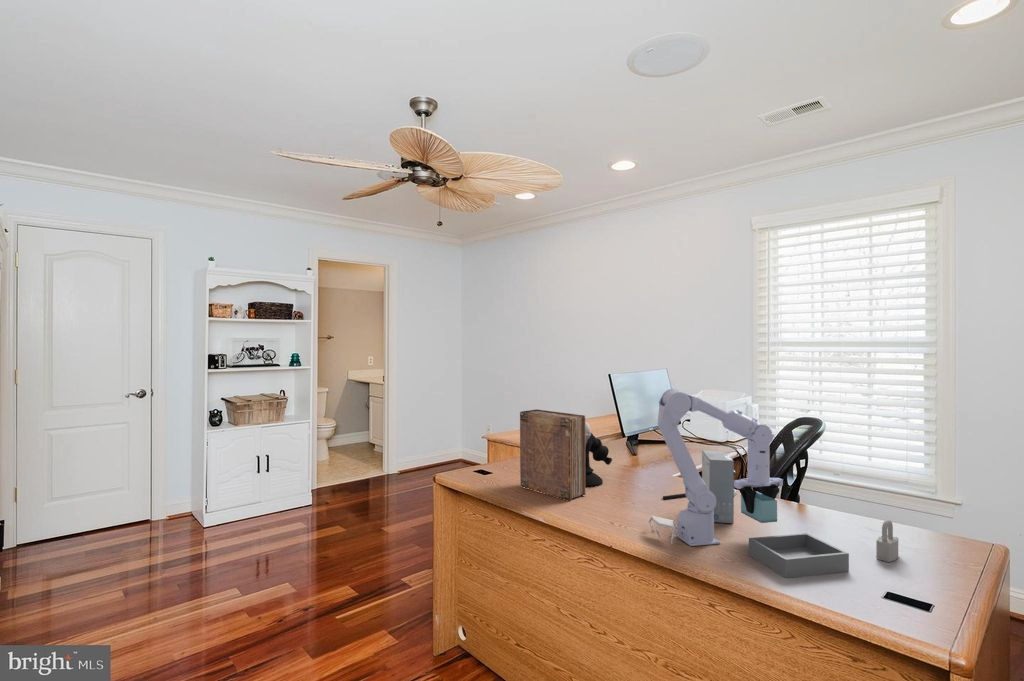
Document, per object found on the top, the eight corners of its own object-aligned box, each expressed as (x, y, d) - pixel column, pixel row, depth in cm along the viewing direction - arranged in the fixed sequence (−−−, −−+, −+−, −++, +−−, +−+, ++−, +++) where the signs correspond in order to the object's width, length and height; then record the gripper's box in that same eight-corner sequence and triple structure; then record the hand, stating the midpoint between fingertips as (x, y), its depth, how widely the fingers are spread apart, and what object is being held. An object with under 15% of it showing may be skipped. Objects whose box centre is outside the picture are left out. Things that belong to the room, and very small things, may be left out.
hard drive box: (734, 524, 163) (734, 461, 163) (708, 522, 164) (708, 460, 164) (724, 508, 178) (724, 450, 178) (701, 507, 179) (700, 449, 179)
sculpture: (557, 481, 212) (557, 420, 212) (595, 472, 227) (595, 415, 227) (585, 489, 201) (585, 425, 201) (623, 479, 216) (623, 419, 216)
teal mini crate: (761, 523, 144) (761, 501, 144) (741, 512, 153) (740, 492, 153) (777, 521, 145) (777, 500, 145) (756, 511, 154) (755, 491, 154)
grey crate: (785, 578, 126) (785, 559, 126) (748, 554, 140) (748, 538, 140) (848, 571, 130) (848, 553, 130) (806, 549, 143) (806, 532, 143)
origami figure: (688, 539, 151) (688, 522, 151) (671, 546, 146) (671, 528, 146) (654, 527, 160) (654, 511, 160) (637, 533, 155) (637, 517, 155)
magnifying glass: (652, 496, 195) (652, 490, 195) (718, 487, 205) (718, 482, 205) (675, 506, 182) (675, 501, 182) (744, 497, 193) (744, 491, 193)
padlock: (883, 551, 142) (883, 515, 142) (901, 556, 138) (901, 519, 138) (873, 558, 137) (873, 520, 137) (891, 563, 134) (891, 525, 134)
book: (586, 496, 192) (585, 415, 192) (570, 501, 186) (569, 418, 186) (536, 482, 211) (535, 409, 211) (520, 487, 204) (519, 411, 204)
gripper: (744, 469, 144) (745, 518, 144) (790, 466, 147) (790, 514, 147) (729, 463, 151) (729, 510, 151) (773, 460, 154) (773, 506, 154)
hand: (758, 511), depth 149 cm, fingers closed on teal mini crate, 5 cm apart
